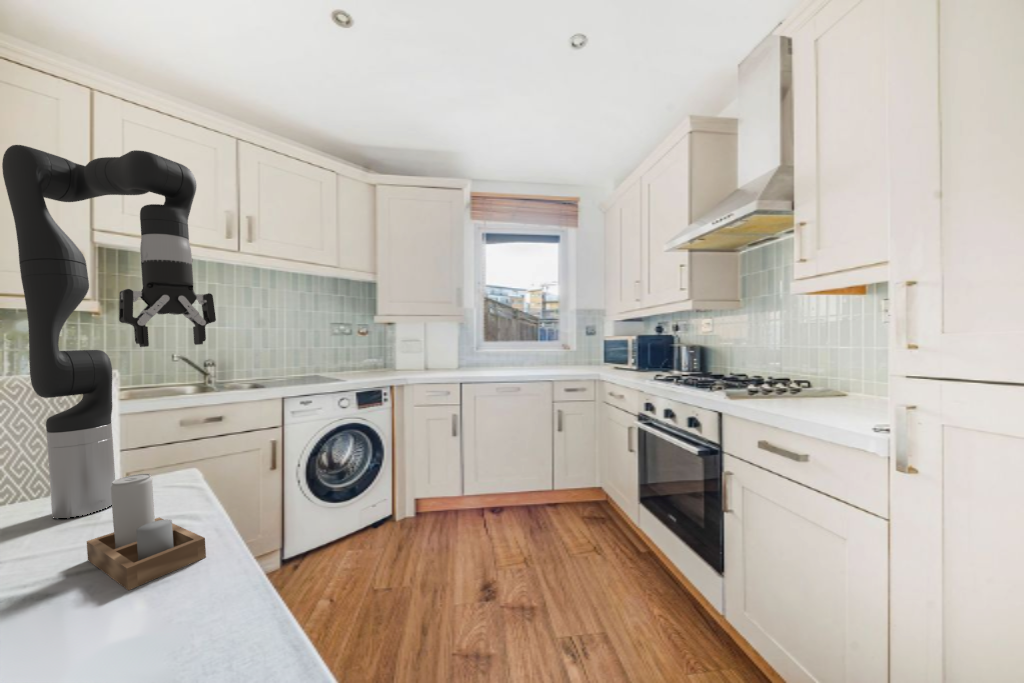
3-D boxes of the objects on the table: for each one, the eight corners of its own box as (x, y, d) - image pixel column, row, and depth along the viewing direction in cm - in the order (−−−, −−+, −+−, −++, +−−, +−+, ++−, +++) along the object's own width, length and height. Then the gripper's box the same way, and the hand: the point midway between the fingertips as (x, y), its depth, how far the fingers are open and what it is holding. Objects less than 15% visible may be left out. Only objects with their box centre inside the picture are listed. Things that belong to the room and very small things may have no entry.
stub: (134, 568, 60) (131, 528, 60) (168, 555, 63) (165, 517, 63) (145, 575, 58) (142, 534, 58) (179, 561, 61) (176, 522, 61)
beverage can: (131, 562, 62) (126, 484, 62) (107, 560, 63) (102, 483, 62) (164, 545, 66) (159, 473, 66) (141, 544, 67) (136, 472, 67)
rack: (87, 560, 63) (86, 541, 63) (160, 534, 71) (159, 517, 71) (128, 590, 54) (126, 568, 54) (206, 557, 62) (204, 537, 62)
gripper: (201, 268, 86) (206, 344, 86) (110, 259, 74) (115, 348, 74) (218, 263, 82) (223, 343, 82) (125, 253, 70) (131, 346, 70)
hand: (172, 345), depth 78 cm, fingers open, 8 cm apart
